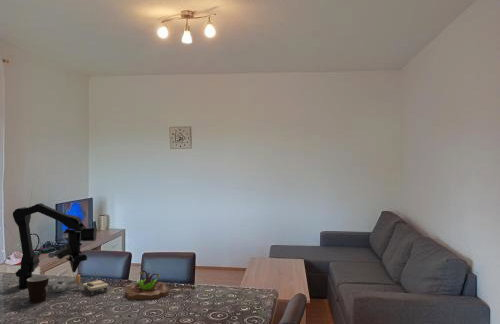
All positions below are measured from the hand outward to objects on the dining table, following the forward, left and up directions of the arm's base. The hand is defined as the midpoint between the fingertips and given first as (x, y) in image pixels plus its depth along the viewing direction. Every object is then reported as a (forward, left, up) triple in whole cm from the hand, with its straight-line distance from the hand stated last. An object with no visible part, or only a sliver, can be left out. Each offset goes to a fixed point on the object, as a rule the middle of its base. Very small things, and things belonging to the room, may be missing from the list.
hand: (74, 272), depth 187 cm
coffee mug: (+12, -18, -6) cm, 23 cm away
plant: (+38, +20, -7) cm, 43 cm away
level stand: (+16, +1, -6) cm, 17 cm away
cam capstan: (+6, -5, -6) cm, 10 cm away
